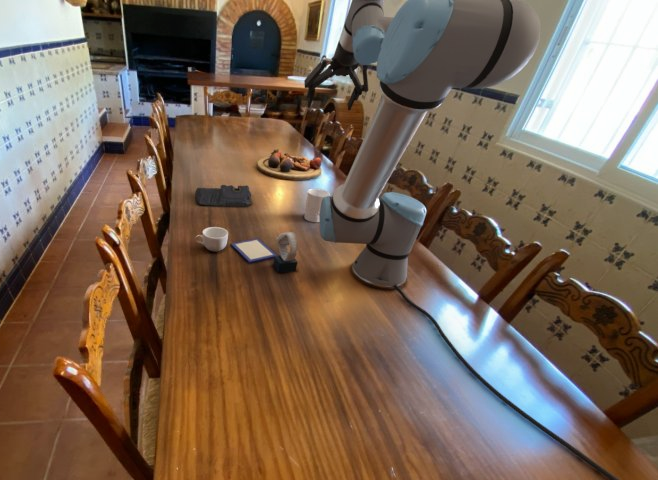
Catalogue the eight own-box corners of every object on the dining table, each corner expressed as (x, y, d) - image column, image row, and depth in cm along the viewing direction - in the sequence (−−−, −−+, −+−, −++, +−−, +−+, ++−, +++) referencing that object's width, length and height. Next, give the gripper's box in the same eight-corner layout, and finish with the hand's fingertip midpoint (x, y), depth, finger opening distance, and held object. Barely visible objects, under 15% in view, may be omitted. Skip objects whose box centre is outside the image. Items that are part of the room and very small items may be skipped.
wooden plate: (327, 167, 185) (331, 150, 180) (311, 186, 162) (315, 167, 156) (269, 156, 194) (271, 140, 189) (246, 172, 171) (248, 154, 166)
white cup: (323, 224, 131) (329, 197, 124) (301, 221, 132) (307, 194, 125) (323, 215, 137) (329, 190, 130) (303, 212, 138) (308, 187, 131)
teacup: (226, 242, 116) (226, 226, 112) (228, 254, 110) (229, 238, 106) (195, 242, 114) (194, 226, 111) (195, 254, 108) (195, 238, 105)
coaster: (277, 257, 110) (277, 255, 110) (249, 263, 106) (249, 261, 106) (257, 239, 118) (257, 238, 118) (230, 245, 114) (230, 243, 114)
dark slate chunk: (194, 191, 148) (194, 179, 145) (247, 192, 151) (248, 181, 148) (196, 206, 136) (196, 194, 133) (252, 207, 139) (254, 195, 136)
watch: (288, 260, 109) (294, 226, 102) (298, 274, 103) (305, 240, 96) (270, 261, 108) (275, 228, 101) (279, 276, 102) (285, 241, 95)
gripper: (394, 36, 101) (364, 99, 121) (307, 30, 100) (291, 94, 120) (397, 56, 99) (366, 117, 119) (307, 50, 98) (292, 112, 118)
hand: (328, 105), depth 120 cm, fingers open, 13 cm apart
